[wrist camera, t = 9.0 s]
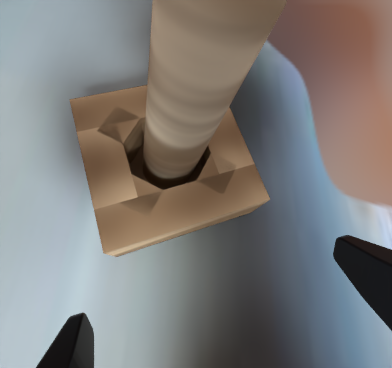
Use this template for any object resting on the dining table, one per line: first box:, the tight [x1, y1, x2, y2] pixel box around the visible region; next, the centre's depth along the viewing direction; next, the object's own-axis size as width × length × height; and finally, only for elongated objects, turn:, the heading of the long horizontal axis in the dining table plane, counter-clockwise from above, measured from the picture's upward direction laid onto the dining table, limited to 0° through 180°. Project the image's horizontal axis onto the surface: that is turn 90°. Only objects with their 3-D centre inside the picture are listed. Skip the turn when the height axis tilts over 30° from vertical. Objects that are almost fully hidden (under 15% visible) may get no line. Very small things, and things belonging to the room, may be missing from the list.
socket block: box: [70, 85, 270, 257], centre depth 19 cm, size 11×11×4 cm
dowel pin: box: [142, 0, 287, 190], centre depth 14 cm, size 4×4×14 cm
